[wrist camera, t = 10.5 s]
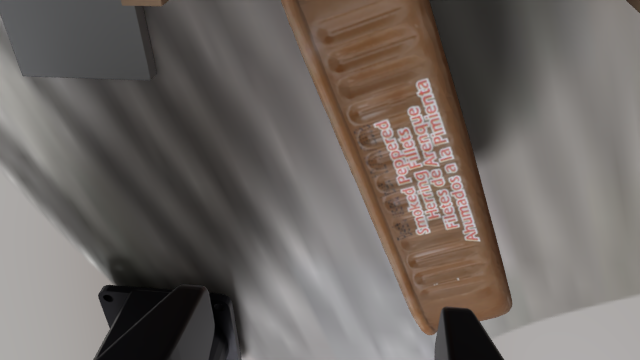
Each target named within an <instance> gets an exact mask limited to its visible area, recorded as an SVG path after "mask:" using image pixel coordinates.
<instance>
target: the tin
mask: <svg viewBox="0 0 640 360" xmlns="http://www.w3.org/2000/svg"><path fill="white" fill-rule="evenodd" d="M281 2H282V6H283V8H284V10H285V12H286V15H287V18H288V21H289V25H290V26H291V28H292V30H293V33H294V35H295V38H296V41H297V44H298V46H299V49H300V51H301V54H302V56H303V58H304V61H305V63H306V66H307V68H308V70H309V72H310V75H311V77H312V79H313V82H314V84H315V87H316V89H317V92H318V94H319V96H320V99H321V101H322V103H323V106H324V108H325V110H326V113H327V115H328V117H329V119H330V121H331V124H332V127H333V129H334V132H335V134H336V137H337V139H338V141H339V144H340V146H341V148H342V151H343V153H344V155H345V158H346V160H347V162H348V164H349V167H350V170H351V172H352V174H353V176H354V178H355V181H356V183H357V185H358V188H359V190H360V193H361V195H362V198H363V200H364V202H365V205H366V207H367V209H368V212H369V214H370V217H371V219H372V222H373V224H374V226H375V228H376V230H377V233H378V236H379V238H380V240H381V243H382V245H383V248H384V251H385V253H386V255H387V257H388V259H389V262H390V264H391V266H392V269H393V271H394V274H395V276H396V279H397V281H398V283H399V286H400V289H401V291H402V293H403V296H404V298H405V300H406V303H407V305H408V307H409V309H410V312H411V314H412V316H413V318H414V319H415V321H416V323H417V324H418V325H419V327H420V329H421V330H422V331H423V332H424V333H425V334H427V335H433V334H435V333H436V332H437V331H438V325H439V319H440V313H441V310H442V308H444V307H446V306H449V307H461V308H468V309H470V310H472V311H473V313H474V314H475V315H476V317H477V319H478V320H479V321H483V320H487V319H491V318H496V317H498V316H501V315H504V314H506V313H507V312H509V311H510V309H511V307H512V298H511V294H510V290H509V286H508V282H507V278H506V274H505V270H504V266H503V262H502V258H501V255H500V251H499V247H498V243H497V239H496V236H495V232H494V228H493V224H492V221H491V217H490V213H489V210H488V206H487V202H486V198H485V194H484V191H483V187H482V183H481V179H480V175H479V171H478V168H477V164H476V160H475V157H474V153H473V149H472V146H471V142H470V138H469V135H468V131H467V128H466V124H465V121H464V118H463V114H462V111H461V107H460V104H459V100H458V97H457V93H456V90H455V86H454V83H453V80H452V76H451V73H450V70H449V66H448V63H447V60H446V56H445V53H444V50H443V46H442V43H441V40H440V36H439V33H438V29H437V26H436V22H435V19H434V16H433V12H432V9H431V5H430V2H429V0H281Z"/></svg>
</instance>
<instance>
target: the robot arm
mask: <svg viewBox="0 0 640 360" xmlns="http://www.w3.org/2000/svg"><path fill="white" fill-rule="evenodd" d="M98 296H99V300H100V303H101V306H102V308H103V311H104V314H105V316H106V319H107V322H108V325H109V327H110V330H109V332H108V334H107V335H106V337H105V339H104V341H103V343H102V345H101V347H100V348H99V350H98V352H97V354H96V356H95V358H94V360H242V359H241V354H240V348H239V342H238V336H237V330H236V324H235V318H234V312H233V306H232V301H231V299H230V298H229V297H228V296H226V295H224V294H217V293H209V292H208V290H207V288H206V287H204V286H198V285H186V284H183V285H180V286H178V287H176V288H175V289H174V290H166V289H153V288H140V287H128V286H115V285H106V286H104V287H103V288H102V290H101V291H100V293H99V295H98ZM221 304H222V305H221ZM435 360H504V359H503V357H502V356H501V354H500V353H499V351H498V349H497V348H496V346H495V345H494V343H493V342H492V340H491V339H490V337H489V336H488V334H487V332H486V331H485V329H484V328H483V326H482V325H481V323H480V322H479V320H478V319H477V317H476V315H475V314H474V313H473V311H472V310H470V309H468V308H461V307H449V306H446V307H444V308H442V310H441V313H440V319H439V325H438V331H437V337H436V343H435Z"/></svg>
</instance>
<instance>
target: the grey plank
mask: <svg viewBox="0 0 640 360" xmlns="http://www.w3.org/2000/svg"><path fill="white" fill-rule="evenodd" d="M0 15H1V18H2V20H3V23H4V26H5V29H6V31H7V34H8V37H9V40H10V42H11V45H12V48H13V51H14V53H15V56H16V59H17V62H18V64H19V67H20V70H21V73H22V75H23V76H32V77H62V78H91V79H121V80H152V79H153V77H154V76H155V75H156V74H157V72H156V67H155V62H154V58H153V53H152V48H151V43H150V39H149V34H148V29H147V24H146V19H145V15H144V10H143V6H122V3H121V0H0Z"/></svg>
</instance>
